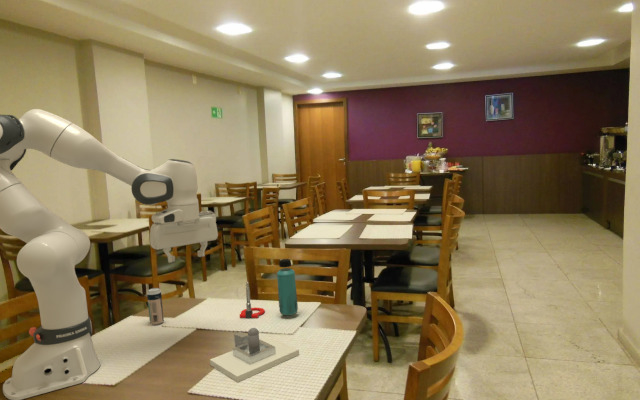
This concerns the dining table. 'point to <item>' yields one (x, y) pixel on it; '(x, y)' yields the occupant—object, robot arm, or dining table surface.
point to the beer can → (155, 306)
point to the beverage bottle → (287, 288)
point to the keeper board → (243, 370)
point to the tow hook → (249, 311)
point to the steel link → (243, 348)
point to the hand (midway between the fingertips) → (186, 259)
